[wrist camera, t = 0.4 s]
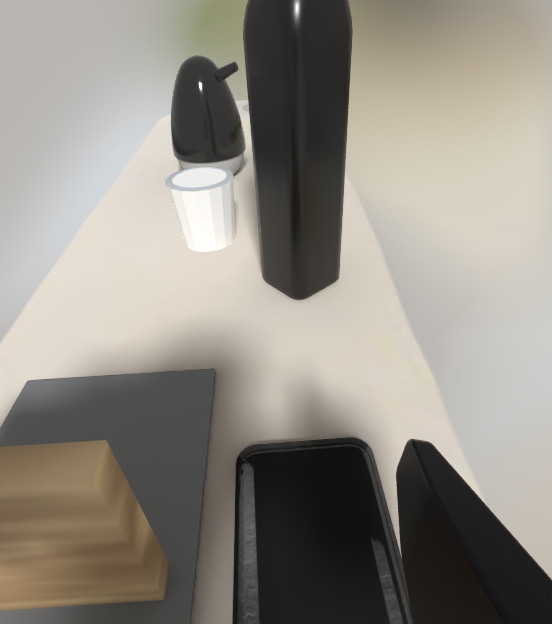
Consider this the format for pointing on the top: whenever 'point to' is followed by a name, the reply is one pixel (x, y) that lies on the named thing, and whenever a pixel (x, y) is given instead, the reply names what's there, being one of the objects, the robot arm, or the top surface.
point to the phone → (315, 537)
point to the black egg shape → (206, 116)
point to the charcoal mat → (131, 469)
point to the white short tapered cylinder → (204, 206)
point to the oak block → (73, 530)
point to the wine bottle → (299, 136)
